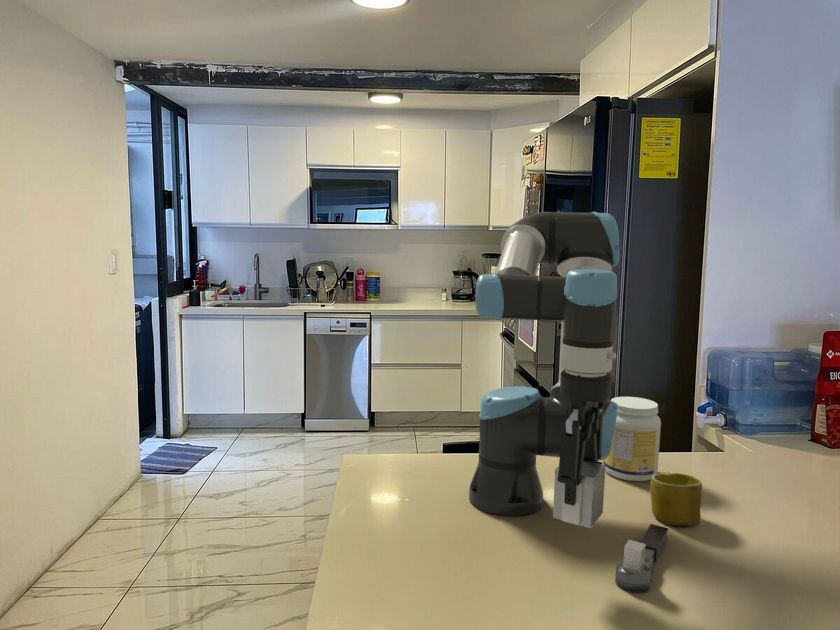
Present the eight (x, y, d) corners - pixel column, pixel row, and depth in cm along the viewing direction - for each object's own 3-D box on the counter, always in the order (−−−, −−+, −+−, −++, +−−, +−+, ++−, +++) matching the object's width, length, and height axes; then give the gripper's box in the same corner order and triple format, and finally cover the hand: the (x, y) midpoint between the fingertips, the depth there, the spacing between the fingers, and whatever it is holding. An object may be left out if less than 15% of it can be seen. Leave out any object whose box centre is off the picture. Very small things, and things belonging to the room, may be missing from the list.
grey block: (552, 517, 98) (555, 469, 97) (566, 503, 103) (568, 457, 102) (590, 528, 95) (593, 478, 94) (602, 513, 100) (605, 465, 99)
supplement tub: (612, 459, 154) (616, 392, 152) (663, 471, 147) (668, 401, 145) (594, 474, 145) (598, 403, 142) (648, 487, 137) (653, 412, 135)
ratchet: (643, 535, 115) (646, 501, 115) (673, 543, 113) (676, 508, 112) (611, 586, 98) (613, 547, 97) (645, 597, 95) (648, 556, 95)
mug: (717, 525, 116) (701, 471, 117) (660, 536, 118) (645, 483, 119) (705, 510, 127) (690, 461, 129) (653, 520, 130) (639, 472, 131)
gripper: (590, 388, 86) (581, 546, 89) (627, 363, 101) (619, 497, 105) (538, 380, 90) (532, 531, 93) (582, 356, 105) (575, 487, 109)
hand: (578, 513), depth 99 cm, fingers closed on grey block, 6 cm apart
